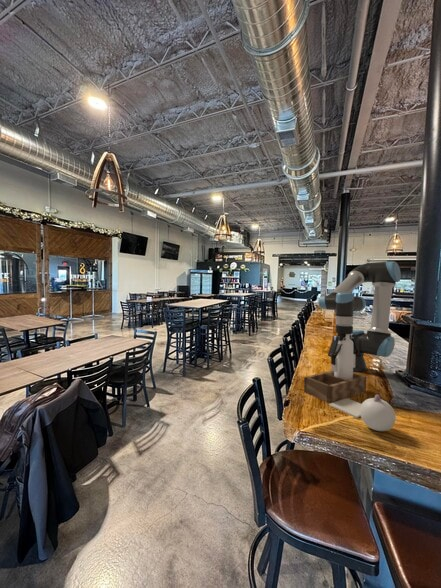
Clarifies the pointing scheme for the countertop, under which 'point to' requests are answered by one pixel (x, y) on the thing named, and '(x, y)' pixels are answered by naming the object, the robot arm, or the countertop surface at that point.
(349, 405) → the coaster
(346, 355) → the bottle
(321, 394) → the carrier
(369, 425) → the ornament
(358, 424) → the countertop surface
